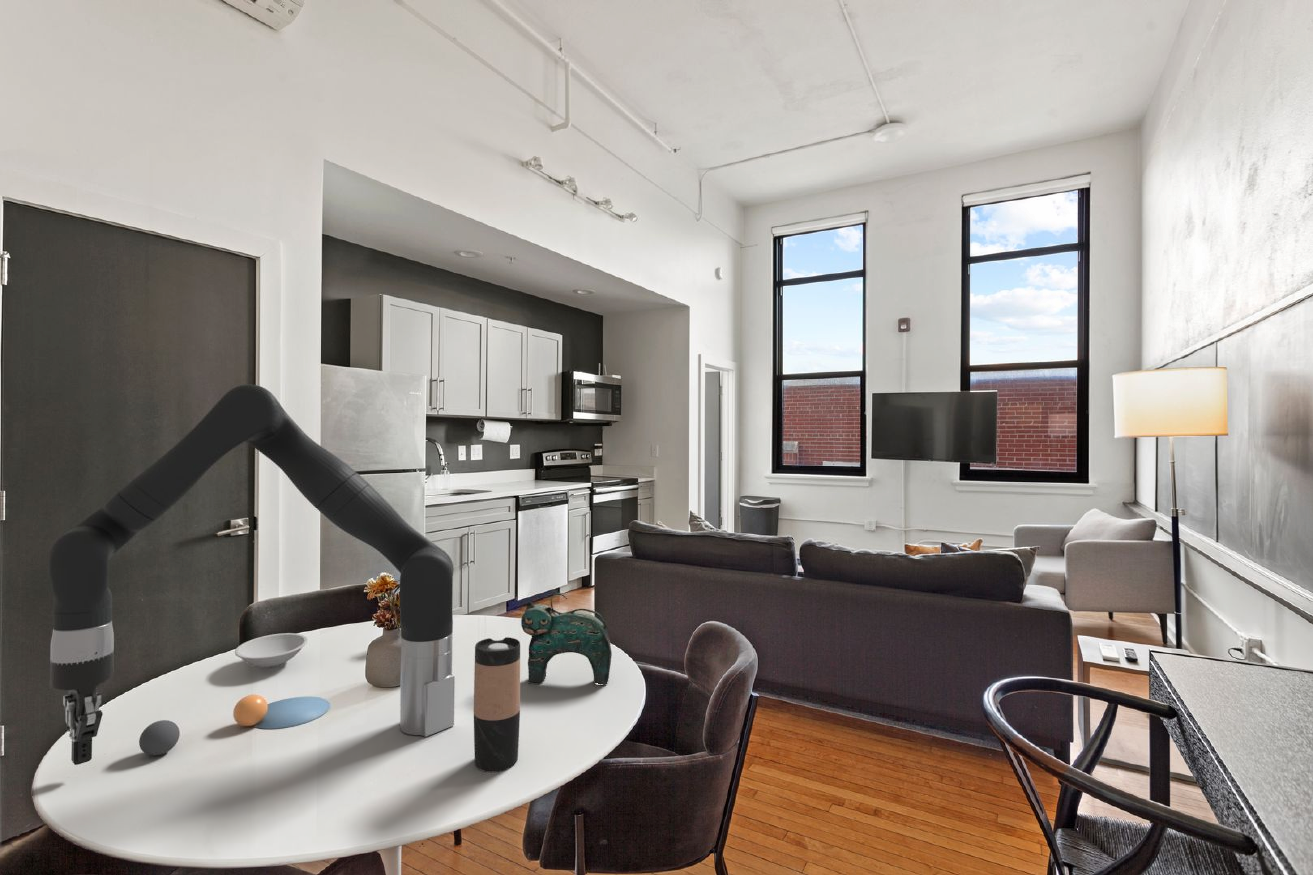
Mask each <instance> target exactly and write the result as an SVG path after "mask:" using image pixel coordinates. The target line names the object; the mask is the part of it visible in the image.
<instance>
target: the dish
mask: <svg viewBox="0 0 1313 875" xmlns="http://www.w3.org/2000/svg"><path fill="white" fill-rule="evenodd" d="M308 640H309V639H308V638H307V636H306V635H303V634H301V633H295V632H293V633H292V632H286V633H276V634H275V633H274V634H268V635H264V636H259V637H256V638H253V639H251V640H248V641H245V642H243V643H241V644H240V645H238V647H236V649H235V650H234V654H235V656H236V657H238V658H239V659H240V658H241V660H242V661H244V662H245V663H247V665H251V666H253V667H258V668H275V667H276V666H279V665H282V664H285V663H287V662H288V661H290V660H291V659H293V658H294V657H295V656H296V655H297V654H298V653H299V652H300V651H301V650H302V648H304V647H305V646H306V645H307V643H308Z"/></svg>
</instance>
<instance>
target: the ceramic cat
mask: <svg viewBox="0 0 1313 875" xmlns="http://www.w3.org/2000/svg"><path fill="white" fill-rule="evenodd" d="M558 595H559V596H562V597H563V598H565V600H568V597H567V595H565V594H564V593H561V592H557V593H554V594H553V595H552V596H551V599H550V606H548V605H547V604H543V603H537V604H533V603H532V602H529V601H528V603H526V607H525V611H524V612H523V614H522V615H521V620H520V623H521V624H520V626H521V628H522V631H523V632H524V633H526V634H527V635H529V636H531V638H530V641H529V645H528V660H527V667H528V682H530V683H541V682H543V681H544V682H545V680H544V679H546V678H547V668H548V664H549V662H550V661H551V660H552V658H554V657H555V656H556V655H560V654H566V653H575V654H579V655H581V656H584V657H585V658H587V660H588V661H589V664H590V666H591V669H592V673H593V683H598V684H608V683H607V682H609V680H608V679H609V678H610V673H611V672H610V670H611V662H612V655H613V654H612V647H611V640H610V636H609V633H608V631H607V624H606V622H605V620H604V617H602V615H601V614H600V613H599V612H598V611H594V610H592V609H588V608H576V609H575V608H574V609H572V610H570V611H565V612H559V611H557V610H555V609H554V606H553V598H554V597H555V596H558ZM582 611H583V612H582ZM584 611H585V612H584ZM586 612H587V613H586ZM591 613H592V614H591ZM593 614H594V615H596V616H594V615H593ZM597 617H599V619H598V618H597ZM600 619H601V620H602V621H601V620H600ZM545 677H546V678H545ZM530 683H529V684H530ZM541 684H542V683H541Z"/></svg>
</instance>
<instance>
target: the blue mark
mask: <svg viewBox="0 0 1313 875" xmlns="http://www.w3.org/2000/svg"><path fill="white" fill-rule="evenodd" d="M267 705H268V710H267V713H266V715H265V717H264V718H263V719H262V720H261V721H260V722H259V723H257V724H255V725H253V726H252V727H253V728H256V729H257V728H258V729H262V730H263V729H264V730H267V729H268V730H271V729H272V730H276V729H286V728H291V727H295V726H299V725H303V724H307V723H309V722H313V721H315V720H316V719H319V718H321V717H323V715H325V714H326V713H327V712H328V711H329V710H330V707H331V704H330V702H329V701H328V699H325V698H322V697H318V696H297V697H289V698H285V699H284V698H282V699H280V700H276V701H273V702H272V701H271V702H270V703H267Z"/></svg>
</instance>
